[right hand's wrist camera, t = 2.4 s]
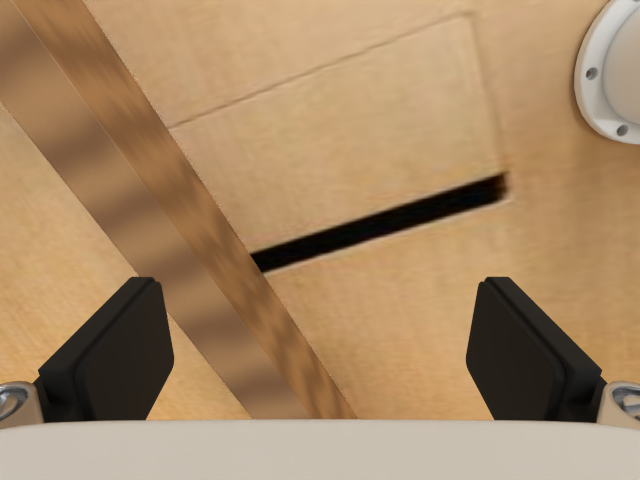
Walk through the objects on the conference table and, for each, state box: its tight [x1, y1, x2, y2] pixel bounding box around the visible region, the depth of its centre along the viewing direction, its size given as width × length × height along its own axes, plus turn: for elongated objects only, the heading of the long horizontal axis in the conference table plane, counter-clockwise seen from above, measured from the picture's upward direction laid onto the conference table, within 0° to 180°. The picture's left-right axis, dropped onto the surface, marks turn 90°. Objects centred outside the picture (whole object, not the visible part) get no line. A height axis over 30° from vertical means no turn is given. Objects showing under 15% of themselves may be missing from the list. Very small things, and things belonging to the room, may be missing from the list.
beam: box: [0, 0, 358, 420], centre depth 32 cm, size 73×5×9 cm, turn 28°
